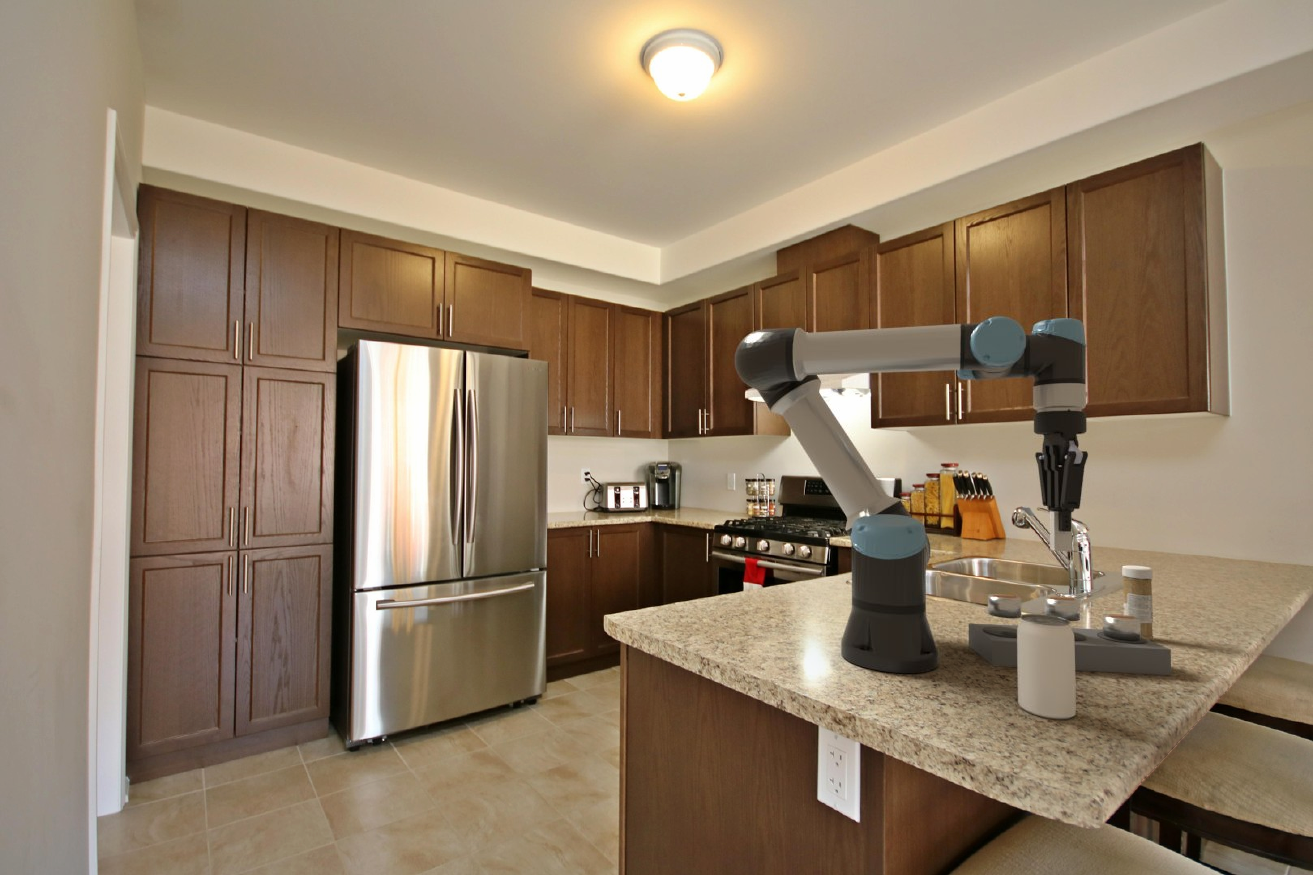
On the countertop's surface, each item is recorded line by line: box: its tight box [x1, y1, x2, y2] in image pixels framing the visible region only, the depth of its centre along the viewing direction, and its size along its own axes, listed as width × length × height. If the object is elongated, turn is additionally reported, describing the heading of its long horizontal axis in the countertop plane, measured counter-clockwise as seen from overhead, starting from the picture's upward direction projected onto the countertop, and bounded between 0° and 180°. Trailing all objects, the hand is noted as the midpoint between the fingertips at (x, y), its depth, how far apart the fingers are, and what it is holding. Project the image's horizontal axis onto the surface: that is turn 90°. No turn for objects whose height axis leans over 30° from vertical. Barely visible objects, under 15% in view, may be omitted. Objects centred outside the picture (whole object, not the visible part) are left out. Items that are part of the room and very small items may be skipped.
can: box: [1017, 613, 1077, 721], centre depth 82 cm, size 6×6×12 cm
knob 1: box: [987, 593, 1023, 620], centre depth 105 cm, size 5×5×3 cm
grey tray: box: [968, 622, 1172, 676], centre depth 104 cm, size 26×11×4 cm, turn 81°
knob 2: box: [1102, 613, 1141, 640], centre depth 102 cm, size 5×5×3 cm
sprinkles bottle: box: [1121, 564, 1154, 641], centre depth 117 cm, size 5×5×14 cm
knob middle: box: [1043, 595, 1081, 622], centre depth 104 cm, size 5×5×3 cm
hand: (1061, 550), depth 104 cm, fingers closed
